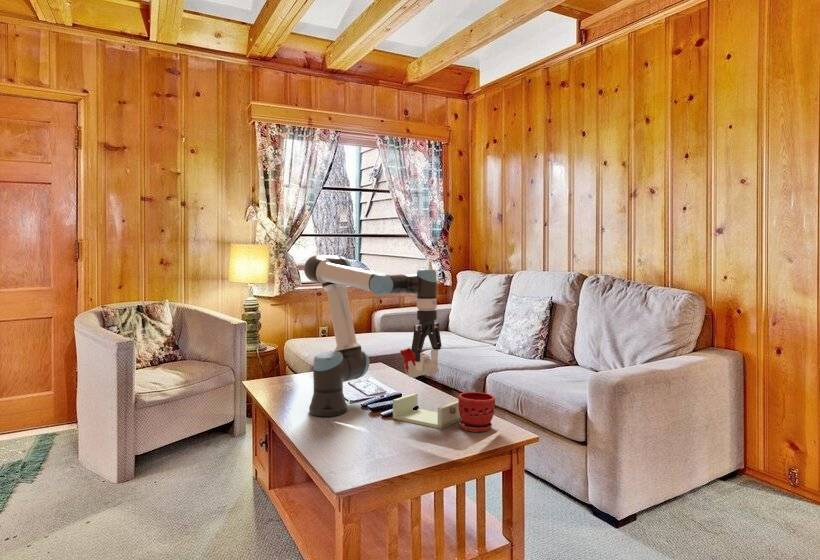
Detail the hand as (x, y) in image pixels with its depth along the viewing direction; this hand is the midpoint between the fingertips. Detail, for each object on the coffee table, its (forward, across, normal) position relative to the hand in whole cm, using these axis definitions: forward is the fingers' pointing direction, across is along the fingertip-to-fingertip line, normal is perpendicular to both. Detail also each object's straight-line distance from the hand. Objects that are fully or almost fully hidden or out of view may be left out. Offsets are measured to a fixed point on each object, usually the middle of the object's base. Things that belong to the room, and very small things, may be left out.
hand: (426, 368), depth 194 cm
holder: (+19, 0, 0) cm, 19 cm away
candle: (+4, +1, 0) cm, 4 cm away
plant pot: (+20, +1, -21) cm, 29 cm away
